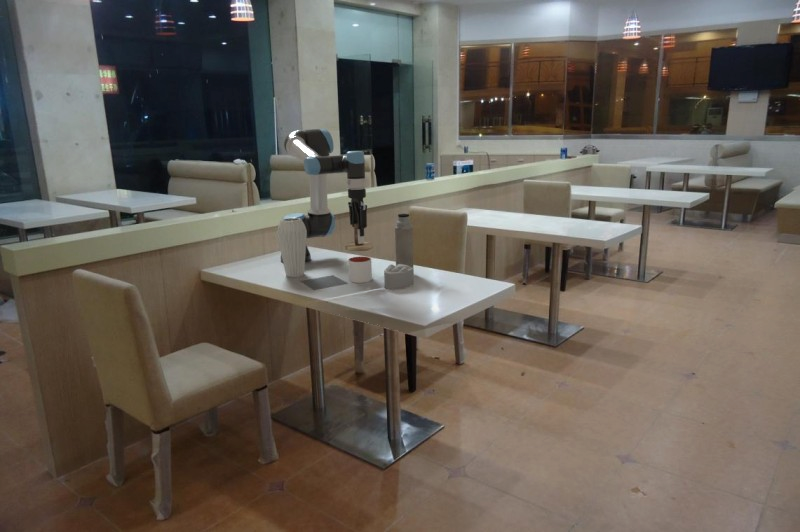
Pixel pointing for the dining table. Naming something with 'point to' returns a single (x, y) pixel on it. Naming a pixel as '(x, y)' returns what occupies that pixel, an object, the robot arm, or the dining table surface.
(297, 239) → the vase
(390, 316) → the dining table surface
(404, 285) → the lumpy-topped squat cylinder
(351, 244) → the lid
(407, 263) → the thermos bottle
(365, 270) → the cup
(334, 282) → the mat
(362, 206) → the robot arm
